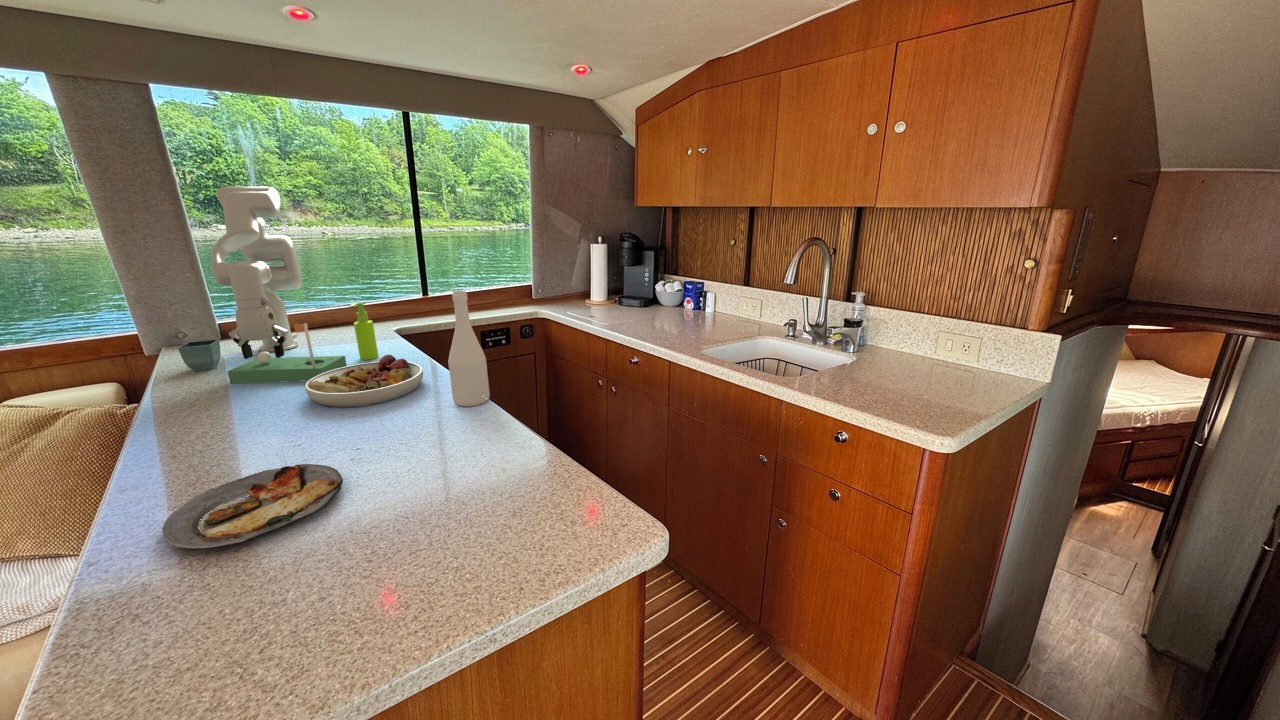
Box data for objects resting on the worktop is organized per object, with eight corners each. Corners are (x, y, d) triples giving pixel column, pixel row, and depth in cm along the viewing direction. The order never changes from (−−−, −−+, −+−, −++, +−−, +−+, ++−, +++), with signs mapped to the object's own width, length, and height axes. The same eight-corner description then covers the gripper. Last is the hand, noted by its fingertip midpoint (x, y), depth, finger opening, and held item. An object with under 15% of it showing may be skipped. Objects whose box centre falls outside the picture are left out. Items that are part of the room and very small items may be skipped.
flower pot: (194, 367, 170) (186, 341, 167) (225, 363, 174) (219, 338, 171) (184, 374, 162) (176, 347, 160) (217, 370, 166) (210, 344, 163)
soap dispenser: (353, 360, 176) (343, 304, 170) (369, 354, 182) (359, 300, 177) (367, 361, 174) (357, 304, 169) (382, 355, 181) (373, 301, 175)
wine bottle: (467, 410, 129) (453, 295, 120) (446, 402, 135) (431, 292, 126) (497, 399, 136) (486, 290, 128) (476, 392, 142) (464, 288, 133)
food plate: (317, 461, 103) (313, 445, 102) (366, 500, 89) (362, 483, 88) (155, 519, 85) (148, 502, 84) (184, 581, 71) (177, 561, 70)
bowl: (394, 411, 130) (390, 383, 128) (282, 411, 131) (275, 383, 128) (441, 375, 159) (437, 351, 157) (348, 376, 159) (344, 352, 157)
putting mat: (261, 369, 166) (248, 316, 161) (347, 367, 168) (337, 314, 162) (230, 383, 153) (215, 326, 148) (324, 380, 154) (312, 323, 149)
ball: (263, 362, 160) (261, 350, 159) (276, 361, 161) (273, 349, 160) (255, 365, 157) (252, 353, 155) (268, 365, 157) (265, 353, 156)
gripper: (288, 301, 157) (299, 353, 162) (231, 302, 156) (244, 355, 161) (273, 305, 150) (285, 359, 155) (213, 306, 149) (227, 361, 154)
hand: (264, 357), depth 158 cm, fingers open, 9 cm apart
